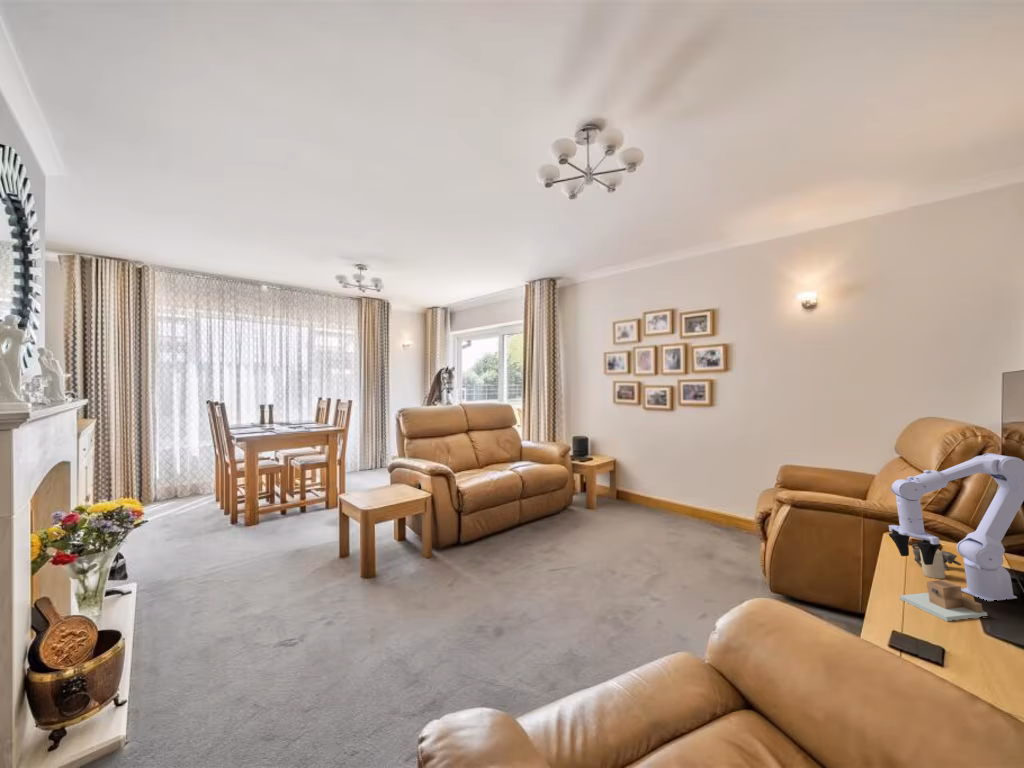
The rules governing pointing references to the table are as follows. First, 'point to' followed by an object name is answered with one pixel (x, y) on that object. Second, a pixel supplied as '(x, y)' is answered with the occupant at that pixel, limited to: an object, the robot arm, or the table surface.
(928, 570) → the candle
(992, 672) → the table surface
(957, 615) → the wall board
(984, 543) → the robot arm
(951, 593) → the cabinet block
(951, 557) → the dog figurine
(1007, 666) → the table surface
